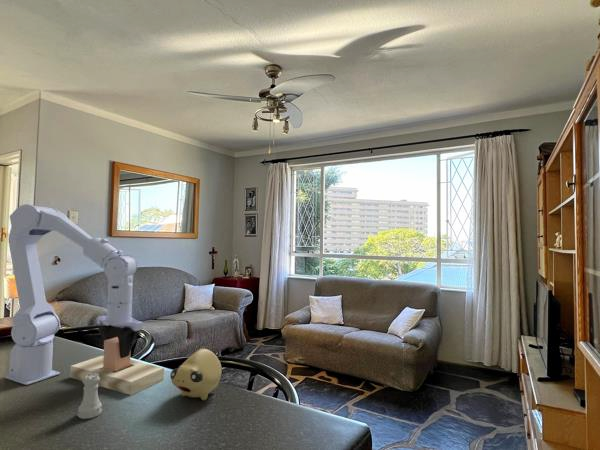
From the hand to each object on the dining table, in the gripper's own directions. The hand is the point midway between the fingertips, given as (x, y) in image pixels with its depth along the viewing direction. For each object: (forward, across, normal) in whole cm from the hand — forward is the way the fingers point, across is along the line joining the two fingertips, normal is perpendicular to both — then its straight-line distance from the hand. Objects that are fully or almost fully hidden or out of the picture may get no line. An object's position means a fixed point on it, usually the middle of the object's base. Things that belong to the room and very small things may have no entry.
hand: (117, 355), depth 92 cm
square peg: (+3, 0, 0) cm, 3 cm away
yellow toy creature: (+6, +25, +1) cm, 26 cm away
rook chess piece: (+6, +11, -15) cm, 20 cm away
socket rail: (+6, 0, 0) cm, 6 cm away
